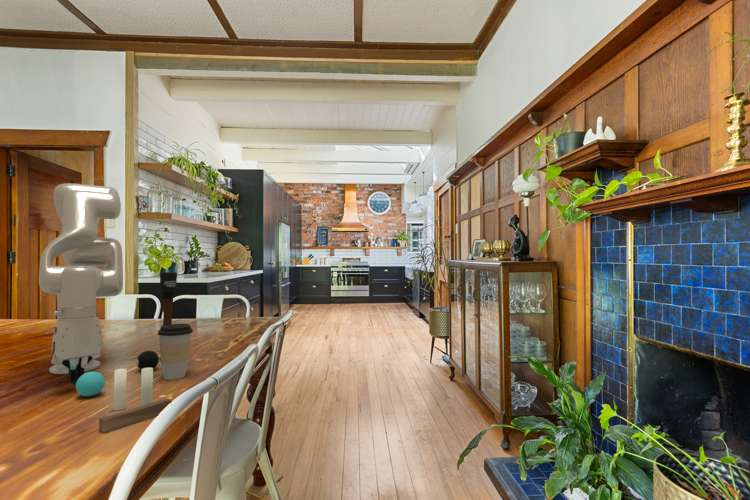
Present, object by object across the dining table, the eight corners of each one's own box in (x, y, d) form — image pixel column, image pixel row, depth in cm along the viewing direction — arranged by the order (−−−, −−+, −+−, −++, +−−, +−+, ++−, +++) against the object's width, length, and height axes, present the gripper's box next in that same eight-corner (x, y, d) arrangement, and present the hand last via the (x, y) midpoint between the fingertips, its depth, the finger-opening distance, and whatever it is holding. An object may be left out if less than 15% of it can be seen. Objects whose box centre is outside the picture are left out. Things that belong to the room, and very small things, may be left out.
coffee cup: (155, 383, 110) (157, 329, 110) (156, 374, 119) (158, 324, 119) (192, 379, 115) (194, 327, 115) (191, 370, 123) (192, 322, 123)
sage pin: (138, 407, 93) (139, 369, 93) (148, 404, 95) (149, 366, 95) (143, 409, 91) (144, 370, 92) (154, 406, 93) (155, 368, 94)
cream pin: (111, 409, 91) (112, 370, 92) (122, 406, 94) (123, 367, 94) (116, 411, 90) (117, 372, 90) (127, 408, 92) (128, 369, 92)
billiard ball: (161, 370, 123) (161, 351, 123) (139, 374, 118) (140, 354, 119) (154, 366, 127) (155, 347, 127) (133, 370, 123) (134, 350, 123)
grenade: (157, 363, 131) (159, 272, 132) (156, 359, 136) (158, 272, 136) (176, 360, 134) (178, 272, 135) (174, 357, 139) (176, 272, 139)
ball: (71, 396, 99) (71, 372, 99) (97, 390, 104) (98, 367, 104) (81, 401, 96) (82, 377, 96) (108, 394, 101) (109, 371, 101)
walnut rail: (99, 430, 80) (99, 418, 80) (166, 409, 92) (166, 398, 92) (103, 433, 79) (104, 420, 79) (171, 410, 91) (171, 400, 91)
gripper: (48, 317, 96) (46, 393, 96) (115, 311, 109) (114, 378, 108) (37, 315, 100) (34, 388, 100) (103, 309, 113) (101, 374, 112)
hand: (76, 383), depth 104 cm, fingers closed
